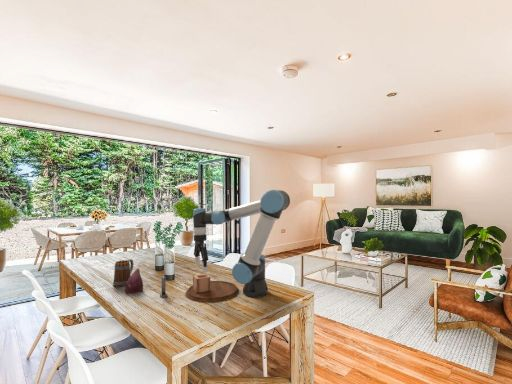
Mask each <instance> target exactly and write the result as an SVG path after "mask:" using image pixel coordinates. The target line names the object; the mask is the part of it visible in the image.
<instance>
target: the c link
mask: <svg viewBox="0 0 512 384" xmlns="http://www.w3.org/2000/svg"><path fill="white" fill-rule="evenodd" d="M210 281H211V276H209V275H208V274H207V273H200V274H195V275H192V286H193V289H194V290H195V291H196V292H197V293H200V292H205V291H210Z"/></svg>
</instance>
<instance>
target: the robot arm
mask: <svg viewBox="0 0 512 384" xmlns="http://www.w3.org/2000/svg"><path fill="white" fill-rule="evenodd" d="M290 204H291V198H290V195H289V194H288V192H286V191H284V190H280V189H278V190H277V189H270V190H268V191H266V192H264V193H263V194H262V195H261V198H260V199H258V200H255V201H252V202H248V203H245V204H240V205H239V206H234V207H230V208H226V209H222V210H215V211H207V210H206V208H204V207H203V208H194V209H193V210H192V212H193V213H192V220H193V229H192V231H193V241H194V249H193V256H194V264H195V265H194V267H195V268H196V269H197V268H201V271H202V273H201V274H205V273H208V261H209V255H208V249H207V243H205V242H206V241H207V239H208V238H207V237H208V236H207V225H216V226H218V225H222V224H223V223H229V222H232V221H235V220H239V219H243V218H247V217H250V216H251V217H252V216H254V215H258V214H259V217H258V220H257V222H256V223H255V224H256V225H255V227H254V230H253V231H252V234H251V237H250V239H249V242H248V244H247V246H246V249H245V251H244V253H241V254H240V256H239V257H238V258H239V259H238V261H237V263H235V264H234V265H233V266H232V269H231V275H232V277H233V279H234V280H235V282H237V283H238V284H240V285H243V288H242V294H243V295H244V296H247V297H249V298H251V297H252V298H260V297H259V296H261V297H264V296H263V295H265V296H266V294H267V293H268V294H269V288H268V285H267V282H266V256H265V255H264V254H262V253H263V251H264V248H265V246H266V243H267V241H268V239H269V237H270V234H271V231H272V230H273V227H274V224H275V222H276V221H277V220H279V219H280V218H281V215H282V214H283V211H285V210H287V209H288V208H289V206H290ZM200 257H201V258H200ZM200 259H202V260H200ZM268 294H267V295H268Z"/></svg>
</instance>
